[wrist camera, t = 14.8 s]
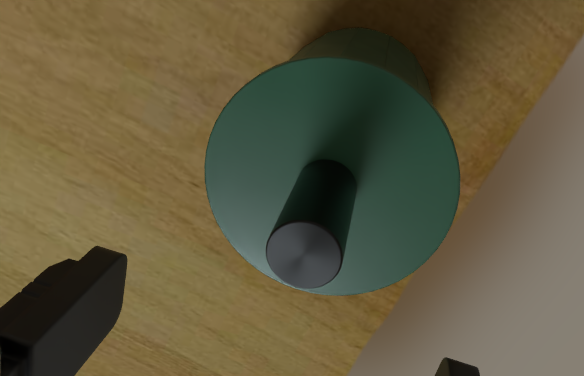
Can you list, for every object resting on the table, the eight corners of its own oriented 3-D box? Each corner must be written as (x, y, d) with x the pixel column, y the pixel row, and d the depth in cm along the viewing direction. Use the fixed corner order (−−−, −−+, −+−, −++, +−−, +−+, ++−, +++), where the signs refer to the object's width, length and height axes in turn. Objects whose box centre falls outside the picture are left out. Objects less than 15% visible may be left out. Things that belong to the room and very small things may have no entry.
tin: (450, 50, 32) (480, 105, 20) (401, 187, 36) (401, 304, 23) (301, 10, 32) (241, 39, 20) (269, 148, 36) (202, 243, 24)
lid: (497, 92, 20) (540, 150, 14) (410, 308, 24) (412, 425, 18) (237, 21, 21) (168, 46, 15) (196, 242, 25) (130, 333, 19)
